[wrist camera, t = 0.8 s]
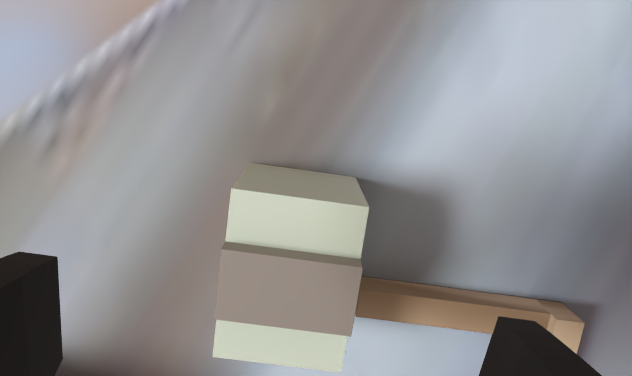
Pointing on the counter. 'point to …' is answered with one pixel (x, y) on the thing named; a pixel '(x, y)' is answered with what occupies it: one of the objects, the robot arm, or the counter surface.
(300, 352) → the cabinet box
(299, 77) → the counter surface
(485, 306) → the tan piece
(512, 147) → the counter surface
